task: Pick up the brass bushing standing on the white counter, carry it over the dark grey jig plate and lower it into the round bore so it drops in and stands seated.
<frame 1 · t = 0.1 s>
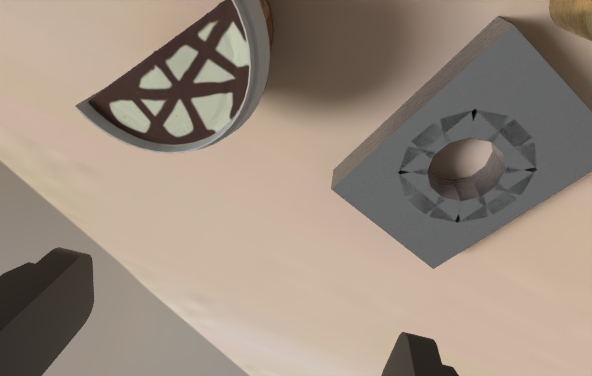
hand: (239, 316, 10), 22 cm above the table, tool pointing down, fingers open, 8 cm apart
jig: (456, 152, 30), on the table
food container: (233, 58, 29), on the table
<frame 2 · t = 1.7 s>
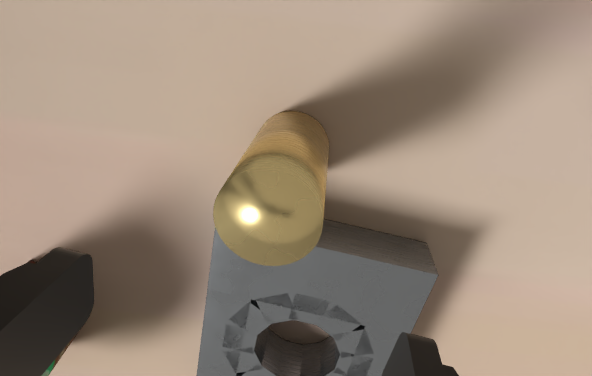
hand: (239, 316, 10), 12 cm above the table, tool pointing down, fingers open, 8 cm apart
jig: (301, 316, 26), on the table
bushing: (292, 146, 21), on the table
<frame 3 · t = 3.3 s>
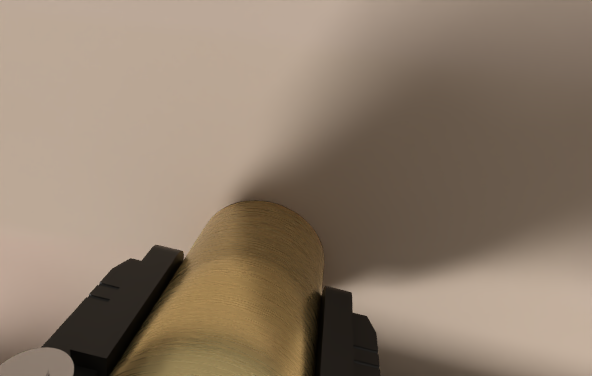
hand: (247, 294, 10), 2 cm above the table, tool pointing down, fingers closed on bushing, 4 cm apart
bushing: (261, 256, 12), on the table, touching gripper
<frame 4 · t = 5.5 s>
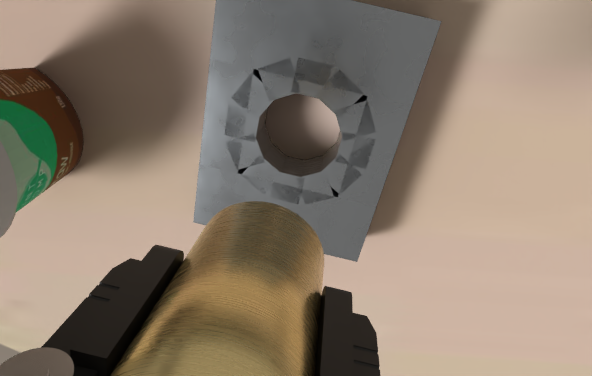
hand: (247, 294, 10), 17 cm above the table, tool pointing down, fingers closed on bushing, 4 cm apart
jig: (303, 123, 26), on the table
food container: (59, 142, 29), on the table
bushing: (261, 257, 12), point 16 cm above the table, touching gripper
when the fingers open (4 cm above the table, at t = 7.9 s): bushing drops 2 cm, resting in jig.
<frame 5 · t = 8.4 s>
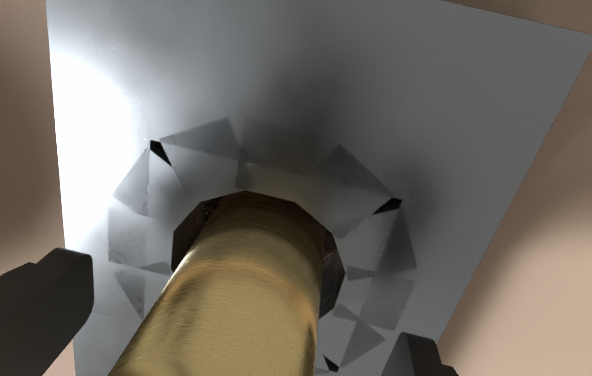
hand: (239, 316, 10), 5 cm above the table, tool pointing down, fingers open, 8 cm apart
jig: (272, 221, 14), on the table
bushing: (272, 220, 14), resting in jig
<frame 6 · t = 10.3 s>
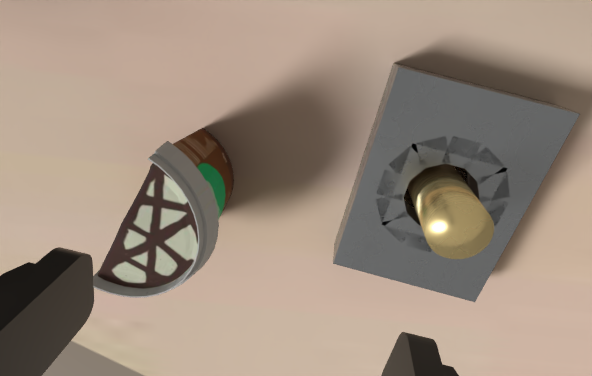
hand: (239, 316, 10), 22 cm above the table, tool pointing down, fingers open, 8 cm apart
jig: (432, 182, 30), on the table
food container: (210, 189, 34), on the table
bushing: (432, 182, 30), resting in jig
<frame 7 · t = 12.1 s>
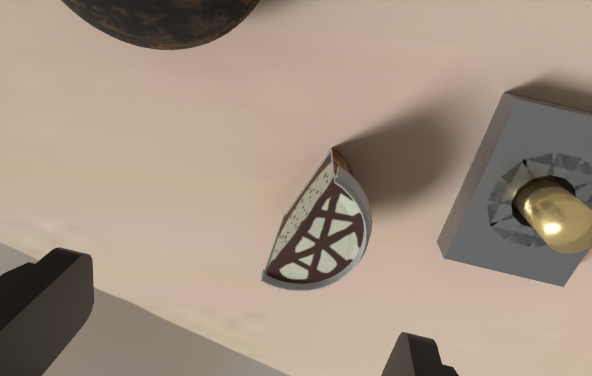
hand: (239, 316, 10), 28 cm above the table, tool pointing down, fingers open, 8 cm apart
jig: (528, 188, 36), on the table
food container: (331, 197, 39), on the table
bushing: (528, 188, 36), resting in jig
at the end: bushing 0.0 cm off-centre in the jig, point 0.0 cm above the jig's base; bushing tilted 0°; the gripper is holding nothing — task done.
